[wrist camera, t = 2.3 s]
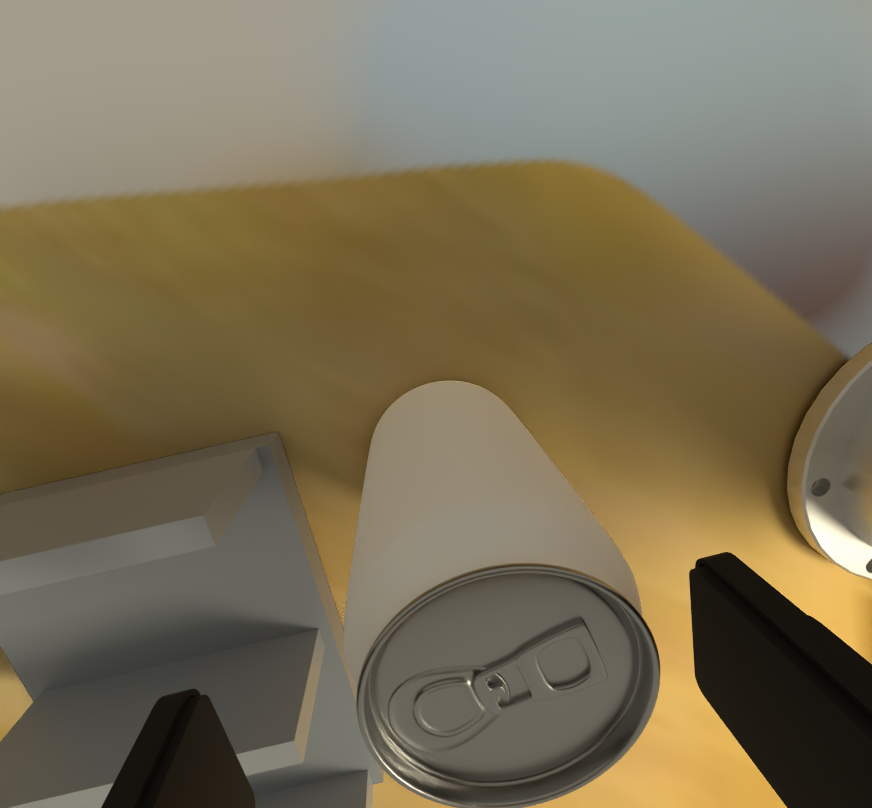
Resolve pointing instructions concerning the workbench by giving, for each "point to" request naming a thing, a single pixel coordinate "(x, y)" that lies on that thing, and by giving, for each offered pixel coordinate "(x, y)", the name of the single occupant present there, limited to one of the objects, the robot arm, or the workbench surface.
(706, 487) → the workbench surface
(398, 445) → the can
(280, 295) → the workbench surface
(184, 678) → the rack
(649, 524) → the workbench surface
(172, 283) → the workbench surface
